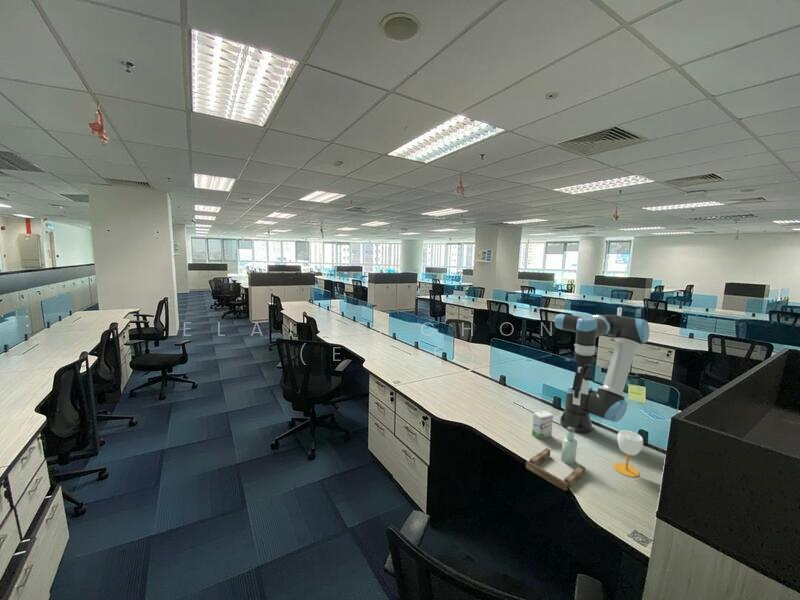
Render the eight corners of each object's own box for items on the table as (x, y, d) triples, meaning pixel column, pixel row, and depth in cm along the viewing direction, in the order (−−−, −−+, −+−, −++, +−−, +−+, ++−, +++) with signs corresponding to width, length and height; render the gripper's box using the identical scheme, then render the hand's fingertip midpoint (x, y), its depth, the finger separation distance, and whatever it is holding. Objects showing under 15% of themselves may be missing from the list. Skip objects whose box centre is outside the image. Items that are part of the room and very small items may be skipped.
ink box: (538, 439, 160) (540, 417, 159) (531, 434, 165) (533, 412, 163) (551, 436, 163) (553, 414, 162) (544, 431, 168) (546, 410, 166)
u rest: (545, 454, 149) (546, 448, 148) (584, 474, 135) (585, 467, 135) (525, 468, 139) (526, 461, 138) (565, 491, 125) (566, 484, 125)
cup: (640, 469, 139) (645, 435, 136) (637, 480, 132) (642, 444, 130) (615, 460, 145) (619, 427, 142) (611, 470, 138) (616, 435, 136)
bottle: (564, 455, 148) (567, 423, 146) (577, 461, 143) (580, 429, 141) (558, 459, 145) (561, 427, 142) (571, 466, 140) (574, 433, 138)
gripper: (582, 344, 151) (579, 387, 155) (566, 358, 133) (562, 406, 137) (600, 348, 146) (596, 391, 150) (586, 362, 128) (582, 412, 132)
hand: (580, 398), depth 143 cm, fingers open, 13 cm apart
